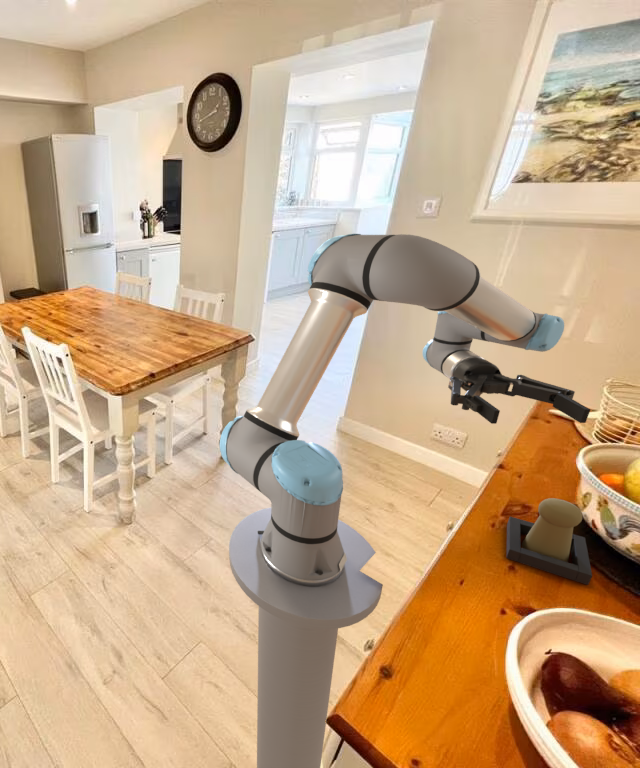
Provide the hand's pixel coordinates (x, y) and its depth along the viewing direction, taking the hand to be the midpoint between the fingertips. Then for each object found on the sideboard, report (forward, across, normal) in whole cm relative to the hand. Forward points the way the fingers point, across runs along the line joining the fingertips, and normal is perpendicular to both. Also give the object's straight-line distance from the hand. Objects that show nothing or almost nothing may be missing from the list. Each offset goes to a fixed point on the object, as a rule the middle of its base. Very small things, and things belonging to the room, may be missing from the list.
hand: (539, 416), depth 72 cm
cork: (+10, 0, -23) cm, 25 cm away
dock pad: (+10, 0, -23) cm, 25 cm away
